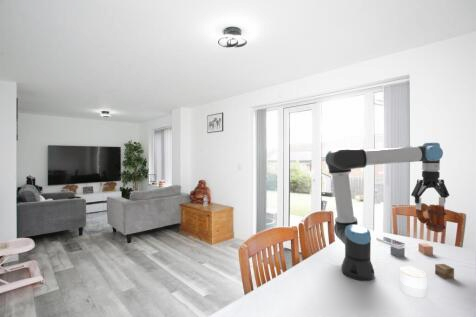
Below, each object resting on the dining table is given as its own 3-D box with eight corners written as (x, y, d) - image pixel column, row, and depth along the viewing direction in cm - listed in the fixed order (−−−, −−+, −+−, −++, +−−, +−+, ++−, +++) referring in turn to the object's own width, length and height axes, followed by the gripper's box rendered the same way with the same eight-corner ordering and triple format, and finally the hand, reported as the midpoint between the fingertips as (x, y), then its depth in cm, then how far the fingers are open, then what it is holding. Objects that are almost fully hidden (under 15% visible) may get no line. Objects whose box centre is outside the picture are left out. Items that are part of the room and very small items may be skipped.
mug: (438, 229, 134) (440, 202, 134) (450, 234, 126) (451, 206, 126) (411, 227, 136) (412, 201, 135) (420, 232, 128) (422, 204, 127)
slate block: (398, 257, 140) (398, 249, 139) (390, 254, 144) (390, 246, 144) (404, 256, 141) (404, 247, 141) (396, 252, 146) (396, 244, 146)
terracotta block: (424, 254, 143) (424, 246, 143) (418, 251, 148) (418, 243, 148) (432, 254, 142) (432, 246, 142) (427, 251, 147) (427, 243, 147)
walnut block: (444, 279, 115) (444, 269, 115) (435, 274, 120) (435, 264, 120) (453, 278, 116) (454, 268, 116) (444, 273, 121) (444, 263, 121)
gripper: (414, 171, 125) (414, 211, 126) (458, 171, 127) (457, 210, 128) (403, 170, 133) (403, 207, 134) (445, 170, 135) (444, 207, 135)
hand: (429, 209), depth 131 cm, fingers closed on mug, 13 cm apart
